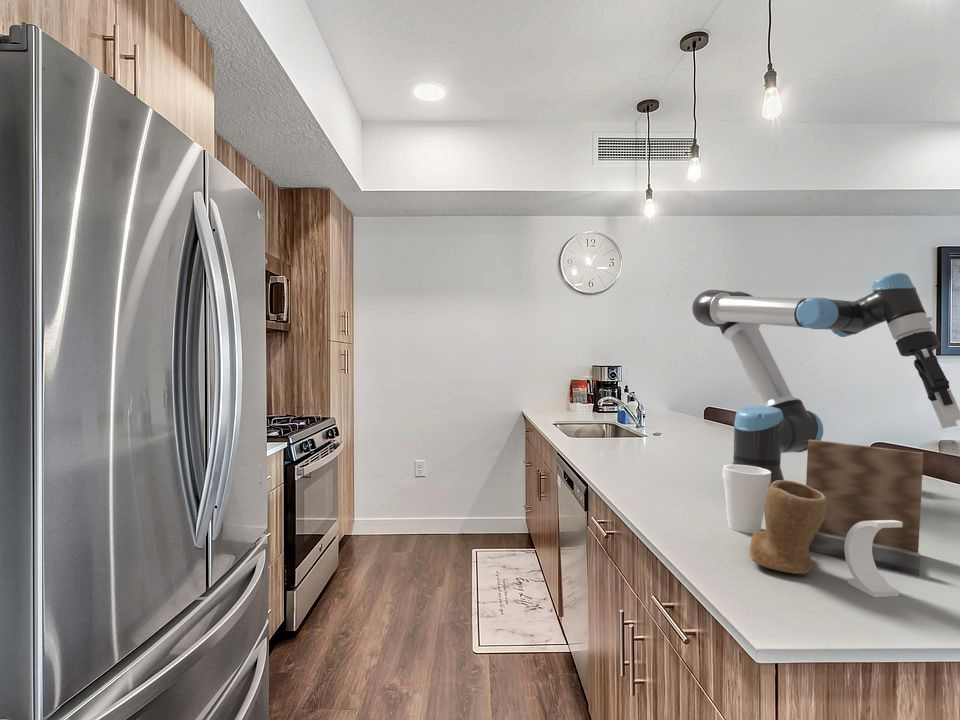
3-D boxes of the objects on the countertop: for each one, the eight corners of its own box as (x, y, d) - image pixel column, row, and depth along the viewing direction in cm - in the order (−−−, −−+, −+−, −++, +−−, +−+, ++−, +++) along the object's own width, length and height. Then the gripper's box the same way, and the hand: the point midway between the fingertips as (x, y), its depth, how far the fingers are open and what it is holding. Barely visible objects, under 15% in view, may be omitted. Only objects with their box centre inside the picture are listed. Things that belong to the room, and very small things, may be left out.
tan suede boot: (824, 587, 88) (829, 497, 87) (745, 569, 94) (748, 485, 94) (822, 557, 101) (826, 479, 100) (752, 543, 107) (755, 469, 106)
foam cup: (764, 524, 119) (767, 467, 119) (772, 538, 110) (775, 476, 110) (718, 519, 122) (720, 462, 122) (722, 531, 113) (725, 471, 113)
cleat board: (795, 547, 105) (799, 447, 105) (805, 530, 116) (809, 439, 115) (919, 575, 93) (925, 462, 93) (917, 553, 104) (923, 452, 103)
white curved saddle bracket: (874, 597, 84) (877, 522, 84) (842, 580, 90) (845, 510, 90) (899, 596, 85) (902, 522, 85) (866, 579, 91) (869, 510, 91)
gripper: (937, 316, 113) (981, 413, 105) (931, 342, 132) (968, 425, 125) (894, 328, 117) (934, 422, 110) (894, 351, 136) (928, 432, 129)
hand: (952, 424), depth 117 cm, fingers open, 13 cm apart
